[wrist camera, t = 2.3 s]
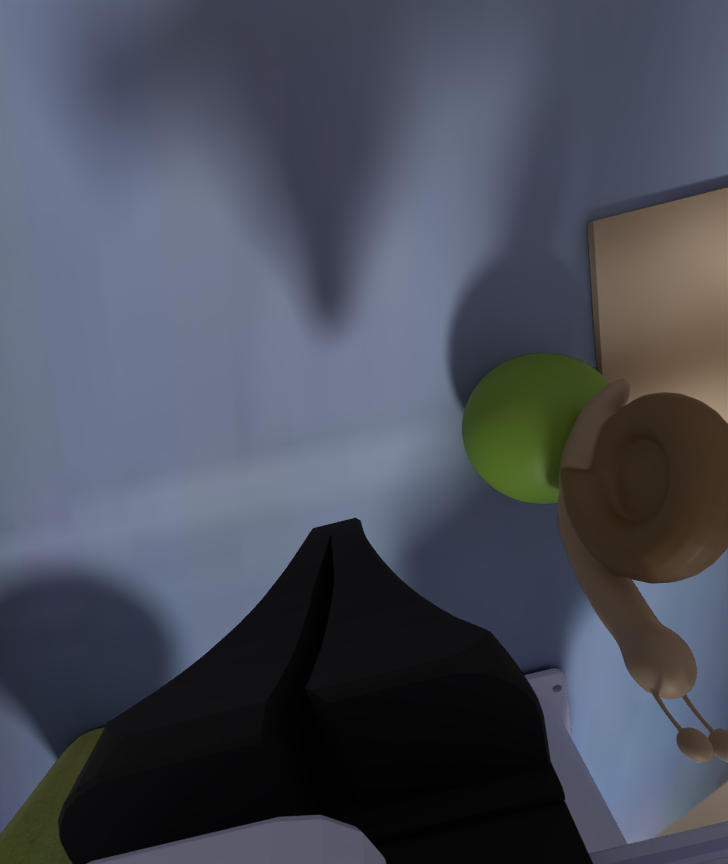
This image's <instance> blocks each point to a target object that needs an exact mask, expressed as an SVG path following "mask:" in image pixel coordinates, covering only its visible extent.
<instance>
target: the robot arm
mask: <svg viewBox="0 0 728 864" xmlns="http://www.w3.org/2000/svg"><path fill="white" fill-rule="evenodd" d="M58 830H59V839H60V841H61V844H62V846H63V848H64V850H65V852H66V854H67V856H68V858H69V859H70V861H71V862H72V864H728V821H726V822H722V823H718V824H714V825H709V826H705V827H700V828H696V829H692V830H687V831H684V832H679V833H675V834H671V835H666V836H662V837H657V838H653V839H649V840H644V841H640V842H636V843H631V844H627V842H626V840H625V838H624V836H623V834H622V833H621V831H620V829H619V827H618V825H617V823H616V821H615V819H614V817H613V816H612V814H611V812H610V810H609V808H608V806H607V804H606V802H605V801H604V799H603V797H602V795H601V793H600V791H599V789H598V787H597V785H596V784H595V782H594V780H593V778H592V776H591V774H590V772H589V770H588V768H587V767H586V765H585V763H584V761H583V759H582V757H581V755H580V753H579V752H578V750H577V748H576V746H575V744H574V742H573V740H572V733H571V725H570V716H569V707H568V698H567V689H566V681H565V677H564V675H563V673H562V671H561V670H559V669H556V668H554V669H548V670H544V671H540V672H536V673H531V674H527V675H524V674H523V673H522V671H521V670H520V668H519V667H518V665H517V664H516V663H515V661H514V660H513V659H512V657H511V656H510V655H509V654H508V652H507V651H506V650H505V648H504V647H503V646H502V645H501V644H500V643H499V641H498V640H497V639H496V638H495V637H494V635H493V634H492V633H491V632H490V631H488V630H486V629H483V628H481V627H478V626H476V625H474V624H471V623H469V622H466V621H464V620H461V619H459V618H456V617H454V616H453V615H451V614H449V613H447V612H445V611H443V610H442V609H440V608H439V607H437V606H436V605H434V604H433V603H431V602H430V601H428V600H426V599H425V598H423V597H422V596H420V595H419V594H418V593H417V592H415V591H414V590H413V589H412V588H410V587H409V586H408V585H407V584H406V583H404V582H403V581H402V580H401V579H400V578H399V577H398V576H397V575H396V574H395V573H394V572H393V571H392V570H391V569H390V568H389V567H388V566H387V565H386V564H385V562H384V561H383V560H382V559H381V558H380V557H379V555H378V554H377V553H376V551H375V550H374V548H373V547H372V546H371V544H370V543H369V541H368V540H367V538H366V536H365V534H364V531H363V528H362V524H361V521H360V520H359V519H357V518H352V519H348V520H344V521H340V522H336V523H332V524H328V525H324V526H320V527H316V528H313V529H312V530H311V532H310V533H309V535H308V536H307V538H306V539H305V541H304V543H303V544H302V546H301V547H300V549H299V550H298V552H297V553H296V555H295V556H294V558H293V559H292V561H291V562H290V564H289V565H288V566H287V568H286V569H285V571H284V572H283V573H282V575H281V576H280V577H279V578H278V580H277V581H276V582H275V584H274V585H273V586H272V587H271V589H270V590H269V591H268V593H267V594H266V595H265V596H264V597H263V599H262V600H261V601H260V602H259V603H258V604H257V605H256V607H255V608H254V609H253V610H252V611H251V612H250V613H249V614H248V615H247V616H246V617H245V618H244V619H243V620H242V621H241V622H240V623H239V624H238V625H237V626H236V627H235V628H234V629H233V630H232V631H231V632H230V633H228V634H227V635H226V636H225V637H224V638H223V639H222V640H221V641H220V642H218V643H217V644H216V645H215V646H214V647H213V648H212V649H211V650H210V651H208V652H207V653H206V654H205V655H204V656H202V657H201V658H200V659H199V660H197V661H196V662H195V663H194V664H192V665H191V666H190V667H189V668H187V669H186V670H185V671H183V672H182V673H181V674H179V675H178V676H177V677H175V678H174V679H173V680H171V681H170V682H168V683H167V684H166V685H164V686H163V687H161V688H160V689H159V690H157V691H156V692H154V693H153V694H151V695H149V696H148V697H146V698H145V699H143V700H142V701H140V702H139V703H137V704H136V705H134V706H133V707H131V708H130V709H128V710H127V711H125V712H123V713H122V714H120V715H119V716H117V717H116V718H114V719H112V720H111V721H109V722H108V723H107V725H106V727H105V728H104V730H103V732H102V734H101V736H100V737H99V739H98V741H97V743H96V745H95V747H94V748H93V750H92V752H91V754H90V756H89V758H88V759H87V761H86V763H85V765H84V767H83V769H82V770H81V772H80V774H79V776H78V778H77V780H76V782H75V783H74V785H73V787H72V789H71V791H70V793H69V794H68V796H67V798H66V800H65V802H64V804H63V806H62V809H61V812H60V815H59V818H58Z"/></svg>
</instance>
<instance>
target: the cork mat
mask: <svg viewBox="0 0 728 864" xmlns="http://www.w3.org/2000/svg"><path fill="white" fill-rule="evenodd" d="M587 227H588V242H589V258H590V273H591V289H592V305H593V320H594V336H595V351H596V367H597V371H598V372H599V373H600V374H602V375H603V376H604V377H605V378H606V379H607V381H608V382H609V383H612V382H614V381H616V380H618V379H626V380H628V381H629V383H630V394H629V398H628V401H627V404H628V403H630V402H631V401H633V400H635V399H637V398H639V397H642V396H644V395H648V394H653V393H660V392H670V393H679V394H684V395H687V396H689V397H692V398H695V399H698V400H700V401H702V402H704V403H705V404H707V405H708V406H710V407H711V408H713V409H714V410H715V411H717V412H718V413H719V414H720V416H721V417H722V418H723V419H724V420H725V421H726V422H727V423H728V187H727V188H723V189H719V190H715V191H711V192H707V193H703V194H699V195H695V196H691V197H687V198H683V199H679V200H675V201H671V202H667V203H663V204H659V205H655V206H651V207H647V208H643V209H639V210H635V211H631V212H627V213H623V214H619V215H615V216H611V217H607V218H603V219H599V220H595V221H591V222H588V223H587ZM627 404H626V405H627Z"/></svg>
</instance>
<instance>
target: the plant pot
mask: <svg viewBox="0 0 728 864" xmlns="http://www.w3.org/2000/svg"><path fill="white" fill-rule="evenodd" d="M104 728H105V727H104ZM104 728H99V729H95V730H92V731H89V732H87V733H85V734H83V735H81V736H80V737H79V738H77V739H76V740H75V741H74V742H73V743H72V744H71V745H70V746H69V747H68V748H67V749H66V750H65V751H64V752H63V754H62V755H61V756H60V757H59V759H58V760H57V761H56V762H55V764H54V765H53V766H52V768H51V769H50V770H49V772H48V773H47V774H46V775H45V777H44V778H43V779H42V781H41V782H40V783H39V785H38V786H37V787H36V789H35V790H34V791H33V793H32V794H31V795H30V797H29V798H28V799H27V801H26V802H25V803H24V805H23V806H22V807H21V808H20V810H19V811H18V812H17V814H16V815H15V816H14V817H13V819H12V820H11V821H10V822H9V824H8V825H7V826H6V828H5V829H4V830H3V831H2V833H1V834H0V864H72V862H71V861H70V859H69V858H68V856H67V854H66V852H65V850H64V848H63V846H62V844H61V841H60V839H59V830H58V818H59V815H60V812H61V809H62V806H63V804H64V802H65V800H66V798H67V796H68V794H69V793H70V791H71V789H72V787H73V785H74V783H75V782H76V780H77V778H78V776H79V774H80V772H81V770H82V769H83V767H84V765H85V763H86V761H87V759H88V758H89V756H90V754H91V752H92V750H93V748H94V747H95V745H96V743H97V741H98V739H99V737H100V736H101V734H102V732H103V730H104Z"/></svg>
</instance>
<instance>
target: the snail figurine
mask: <svg viewBox="0 0 728 864" xmlns="http://www.w3.org/2000/svg"><path fill="white" fill-rule="evenodd" d="M629 394H630V383H629V381H628V380H626V379H618V380H616V381H614V382H612V383H609V382H608V381H607V379H606V378H605V377H604V376H603V375H602V374H600V373H599V372H598V371H597V370H595V369H594V368H593V367H591V366H589V365H588V364H586V363H584V362H582V361H580V360H578V359H575V358H572V357H569V356H566V355H561V354H555V353H534V354H527V355H523V356H519V357H516V358H513V359H511V360H508V361H506V362H504V363H502V364H501V365H499V366H497V367H496V368H494V369H493V370H492V371H490V372H489V373H488V374H487V375H486V376H485V377H484V378H483V379H482V380H481V381H480V382H479V383H478V385H477V386H476V387H475V389H474V390H473V392H472V394H471V395H470V397H469V399H468V402H467V404H466V407H465V410H464V415H463V421H462V436H463V442H464V447H465V450H466V453H467V456H468V458H469V460H470V462H471V464H472V465H473V467H474V469H475V470H476V471H477V473H478V474H479V475H480V476H481V477H482V478H483V479H484V480H485V481H486V482H487V483H488V484H489V485H490V486H492V487H493V488H494V489H496V490H497V491H499V492H501V493H502V494H504V495H506V496H508V497H511V498H513V499H516V500H519V501H523V502H528V503H535V504H552V503H558V511H557V516H558V527H559V532H560V536H561V539H562V542H563V545H564V548H565V550H566V553H567V556H568V559H569V561H570V564H571V566H572V568H573V570H574V573H575V575H576V577H577V579H578V581H579V583H580V585H581V587H582V589H583V591H584V593H585V595H586V596H587V598H588V600H589V602H590V603H591V605H592V607H593V608H594V610H595V612H596V613H597V615H598V616H599V618H600V619H601V621H602V622H603V624H604V625H605V626H606V628H607V629H608V630H609V632H610V633H611V634H612V636H613V637H614V638H615V640H616V642H617V643H618V645H619V647H620V650H621V653H622V656H623V659H624V662H625V665H626V668H627V670H628V672H629V673H630V675H631V676H632V677H633V679H634V680H635V681H636V682H637V683H638V684H639V685H640V686H641V687H642V688H643V689H644V690H646V691H647V692H649V693H651V694H653V696H654V698H655V699H656V701H657V702H658V704H659V705H660V707H661V708H662V709H663V711H664V712H665V714H666V715H667V716H668V718H669V719H670V720H671V722H672V723H673V724H674V726H675V727H676V728H677V729H678V730H679V732H678V734H677V744H678V747H679V749H680V750H681V752H682V753H683V754H684V755H685V756H686V757H688V758H689V759H691V760H693V761H695V762H698V763H707V762H709V761H710V760H711V759H712V757H713V753H714V754H715V755H716V756H717V757H719V758H720V759H721V760H723V761H725V762H727V763H728V731H727V730H724V729H716V730H714V729H713V728H712V727H711V726H710V725H709V724H708V723H707V722H706V721H705V720H704V719H703V718H702V716H701V715H700V714H699V713H698V711H697V710H696V709H695V707H694V706H693V705H692V703H691V702H690V700H689V699H688V697H687V695H686V694H687V693H688V692H689V691H690V690H691V689H692V688H693V686H694V684H695V681H696V678H697V667H696V662H695V659H694V656H693V654H692V652H691V650H690V648H689V646H688V645H687V644H686V642H685V641H684V640H683V639H682V638H681V637H680V636H679V635H677V634H676V633H675V632H673V631H672V630H670V629H669V628H667V627H665V626H664V625H662V624H661V623H660V622H659V620H658V619H657V618H656V616H655V615H654V613H653V612H652V610H651V609H650V607H649V606H648V604H647V603H646V601H645V599H644V598H643V596H642V595H641V593H640V592H639V590H638V588H637V587H636V585H635V584H634V582H633V581H632V579H633V580H637V581H642V582H647V583H669V582H676V581H680V580H683V579H686V578H689V577H692V576H695V575H697V574H699V573H700V572H702V571H703V570H705V569H706V568H708V567H709V566H711V565H712V564H713V563H714V562H715V561H716V560H717V559H718V558H719V557H720V556H721V555H722V554H723V553H724V552H725V551H726V549H727V548H728V423H727V422H726V421H725V420H724V419H723V418H722V417H721V416H720V414H719V413H718V412H717V411H715V410H714V409H713V408H711V407H710V406H708V405H707V404H705V403H704V402H702V401H700V400H698V399H695V398H692V397H689V396H687V395H684V394H679V393H670V392H660V393H653V394H648V395H644V396H642V397H639V398H637V399H635V400H633V401H631V402H630V403H628V404H627V401H628V398H629ZM626 404H627V405H626ZM679 697H682V698H683V699H684V700H685V702H686V703H687V705H688V706H689V707H690V708H691V710H692V711H693V712H694V714H695V715H696V716H697V717H698V719H699V720H700V721H701V722H702V723H703V724H704V726H705V727H706V728H707V729H708V730H709V731H710V732H711V733H710V735H709V738H707V737H706V736H705V735H704V734H703V733H702V732H700V731H699V730H697V729H694V728H682V727H681V726H680V725H679V724H678V723H677V722H676V721H675V719H674V718H673V717H672V716H671V714H670V713H669V712H668V710H667V709H666V707H665V705H664V704H663V702H662V700H661V699H660V698H665V699H675V698H679Z"/></svg>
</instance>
